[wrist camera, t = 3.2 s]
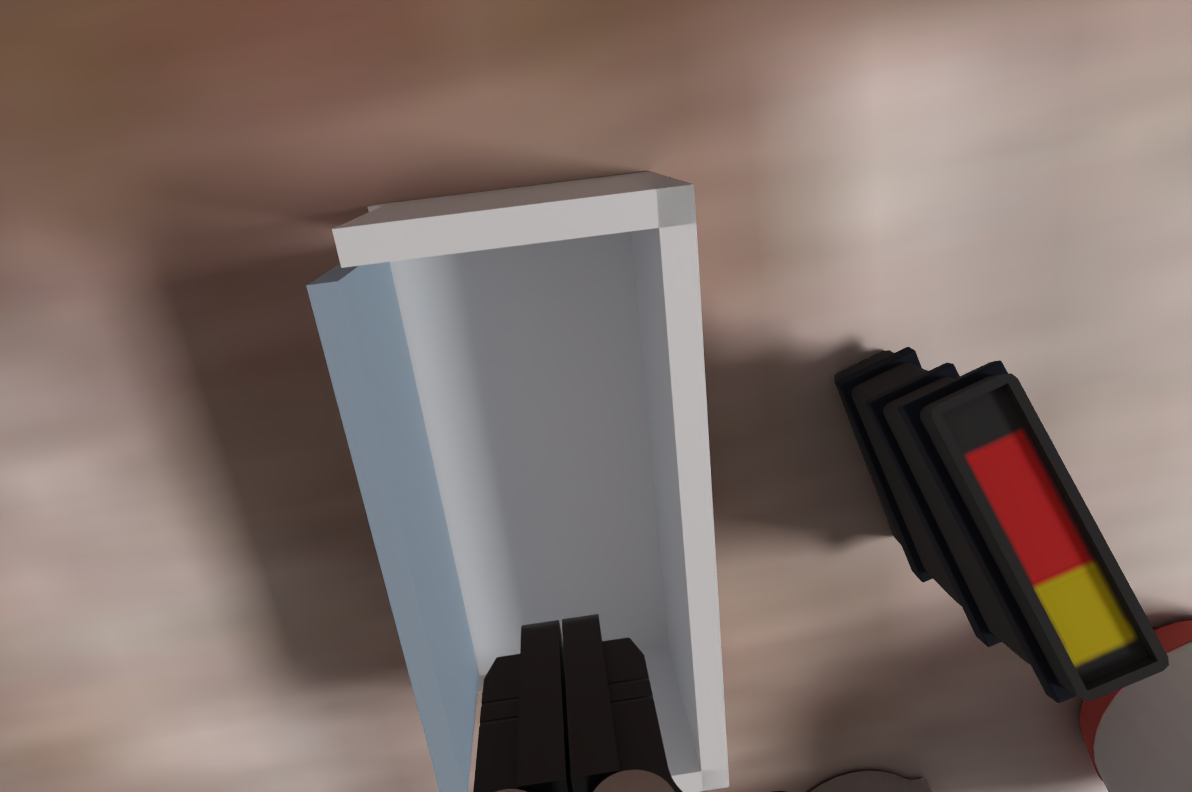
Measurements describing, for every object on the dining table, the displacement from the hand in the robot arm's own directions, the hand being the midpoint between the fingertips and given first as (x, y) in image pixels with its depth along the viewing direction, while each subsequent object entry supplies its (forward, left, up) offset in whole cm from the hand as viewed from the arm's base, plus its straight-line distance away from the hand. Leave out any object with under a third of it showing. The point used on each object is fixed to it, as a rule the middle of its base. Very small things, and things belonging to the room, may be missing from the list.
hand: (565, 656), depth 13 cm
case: (0, +6, -21) cm, 21 cm away
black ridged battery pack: (-17, +7, -21) cm, 27 cm away
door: (+7, +6, -19) cm, 21 cm away
